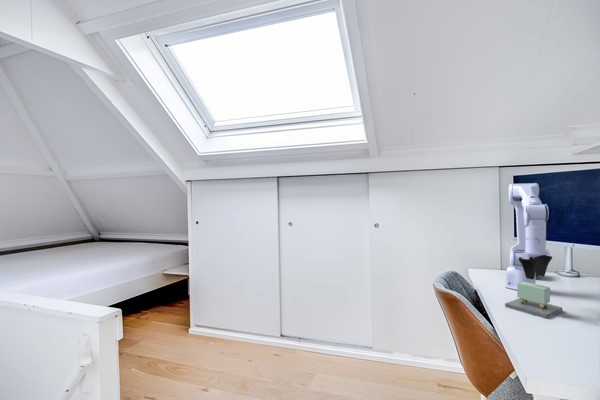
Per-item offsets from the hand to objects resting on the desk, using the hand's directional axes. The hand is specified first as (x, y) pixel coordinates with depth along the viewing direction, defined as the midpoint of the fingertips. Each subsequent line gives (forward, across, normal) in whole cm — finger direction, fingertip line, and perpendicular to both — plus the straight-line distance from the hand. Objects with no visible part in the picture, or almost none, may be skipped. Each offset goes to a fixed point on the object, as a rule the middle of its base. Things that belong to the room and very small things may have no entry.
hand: (535, 277), depth 108 cm
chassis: (+10, -4, -1) cm, 11 cm away
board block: (+7, -4, -1) cm, 8 cm away
